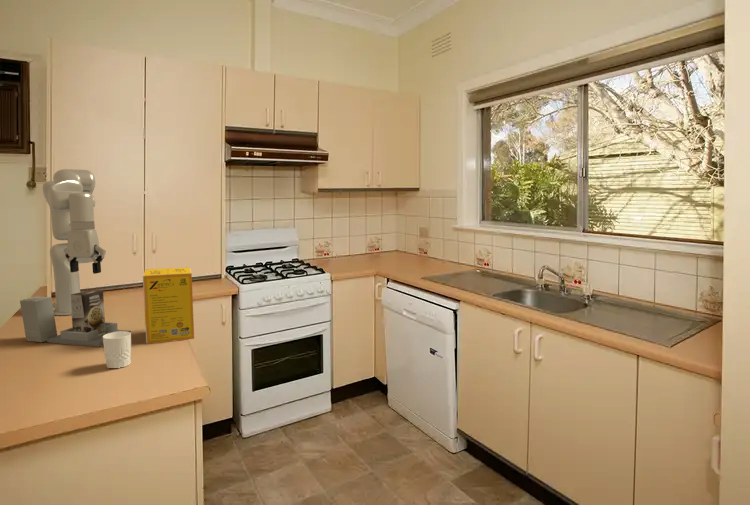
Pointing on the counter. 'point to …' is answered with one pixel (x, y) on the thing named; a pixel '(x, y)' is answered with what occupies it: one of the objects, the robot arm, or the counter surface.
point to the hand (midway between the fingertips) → (85, 272)
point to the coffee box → (88, 311)
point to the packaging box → (168, 304)
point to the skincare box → (38, 318)
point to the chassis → (84, 336)
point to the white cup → (117, 349)
